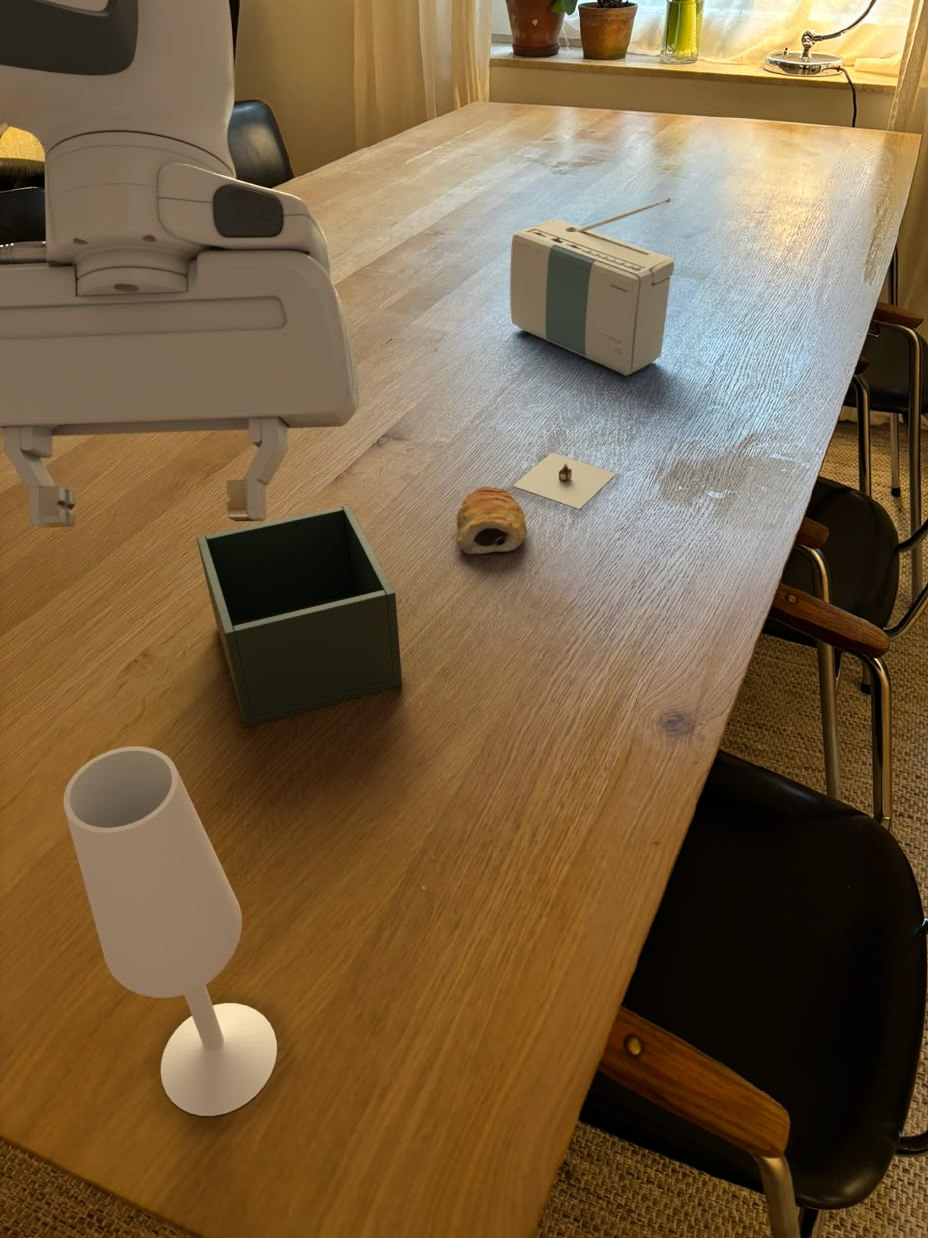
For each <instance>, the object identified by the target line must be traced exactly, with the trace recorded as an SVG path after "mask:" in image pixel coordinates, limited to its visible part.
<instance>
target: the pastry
mask: <svg viewBox="0 0 928 1238" xmlns="http://www.w3.org/2000/svg"><path fill="white" fill-rule="evenodd" d="M456 530H457V539H456V544H457V546H458V547H459V548H460V549H461V550H462V551H463V553H465V554H468V555H484V554H490V553H496V552H497V553H498V552H499V553H501V552H511V551H514V550H515V549H517V548H518V547H519V546H520V545H522V543H523V541H524V539H526V536H527V534H528V529H527V524H526V519H525V513H524V512H523V510H522V507H521V505H519V503H518V501H517V500H515V498H514V497H513V496H512V494H511V493H510V492H508V491H507V490H506V489H504V488H497V487H490V486H481V487H478V488H476V489H474V491H473V492H471V493H468V494H467V496H466V497H465V499H464V500H463V502H462V504H461V507H460V508H459V510H458V513H457V515H456Z"/></svg>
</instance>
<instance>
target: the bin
mask: <svg viewBox="0 0 928 1238" xmlns="http://www.w3.org/2000/svg"><path fill="white" fill-rule="evenodd" d="M196 542H197V546H198V550H199V554H200V560H201V564H202V569H203V572H204V576H205V577H204V578H205V581H206V585H207V589H208V593H209V598H210V602H211V606H212V611H213V615H214V619H215V625H216V628H217V632H218V635H219V639H220V642H221V646H222V650H223V653H224V657H225V660H226V664H227V668H228V671H229V674H230V678H231V681H232V685H233V688H234V691H235V695H236V698H237V702H238V706H239V710H240V712H241V713H240V714H241V716H242V719H243V722H244V727H245V728H250V727H253V726H258V725H261V724H265V723H269V722H273V721H276V720H281V719H284V718H288V717H292V716H295V715H299V714H302V713H306V712H310V711H315V710H318V709H321V708H324V707H329V706H332V705H336V704H340V703H343V702H347V701H351V700H355V699H358V698H362V697H366V696H370V695H373V694H377V693H381V692H385V691H388V690H391V689H396V688H399V687H402V686H403V676H402V663H401V649H400V636H399V625H398V610H397V609H398V608H397V596H396V595H397V594H396V591H395V589H394V588H393V586H392V583H391V581H390V579H389V577H388V576H387V574H386V572H385V570H384V568H383V566H382V564H381V562H380V561H379V558H378V557H377V555H376V553H375V551H374V549H373V547H372V545H371V543H370V541H369V539H368V538H367V536H366V534H365V531H364V529H363V527H362V525H361V524H360V522H359V520H358V518H357V516H356V514H355V512H354V511H353V508H352V506H351V504H344V505H340V506H336V507H331V508H326V509H321V510H317V511H312V512H307V513H303V514H298V515H294V516H289V517H285V518H279V519H274V520H269V521H266V522H261V523H260V522H259V523H255V524H252V525H247V526H243V527H238V528H233V529H227V530H224V531H218V532H215V533H209V534H205V535H201V536H196Z"/></svg>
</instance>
